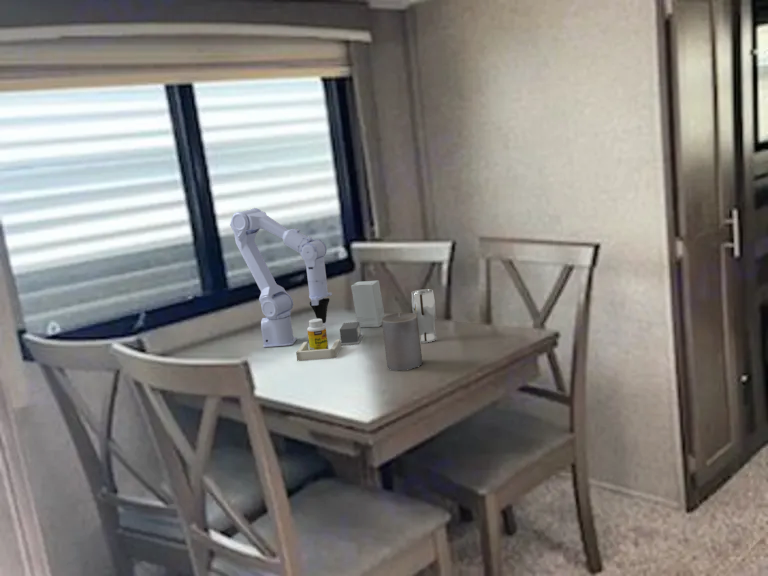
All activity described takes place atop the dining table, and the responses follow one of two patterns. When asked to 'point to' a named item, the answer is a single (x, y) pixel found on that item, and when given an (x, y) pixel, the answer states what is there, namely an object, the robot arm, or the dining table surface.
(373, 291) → the skincare box
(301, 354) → the tray
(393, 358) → the pillar candle
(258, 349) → the dining table surface
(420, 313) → the beer glass
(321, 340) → the supplement bottle
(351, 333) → the box
